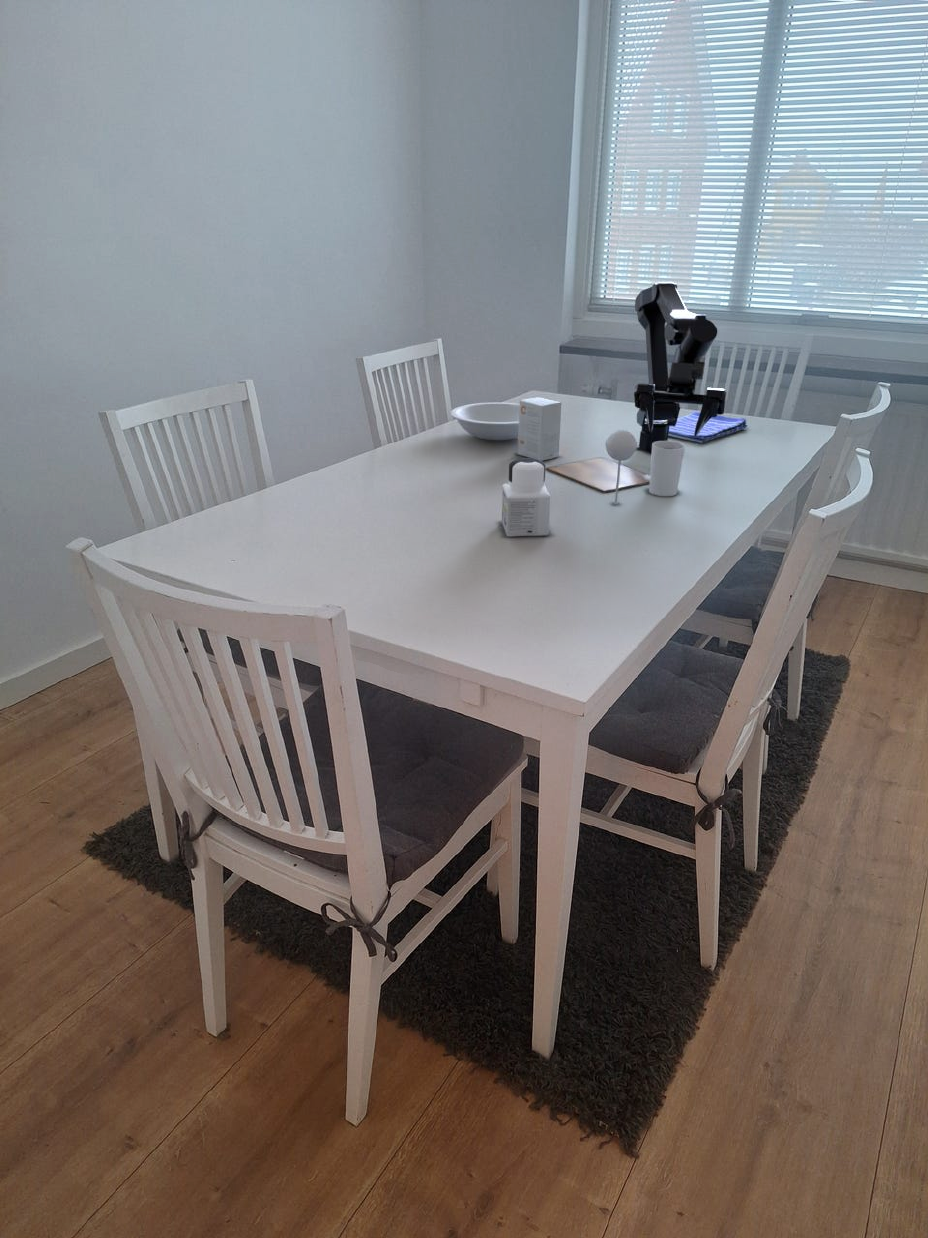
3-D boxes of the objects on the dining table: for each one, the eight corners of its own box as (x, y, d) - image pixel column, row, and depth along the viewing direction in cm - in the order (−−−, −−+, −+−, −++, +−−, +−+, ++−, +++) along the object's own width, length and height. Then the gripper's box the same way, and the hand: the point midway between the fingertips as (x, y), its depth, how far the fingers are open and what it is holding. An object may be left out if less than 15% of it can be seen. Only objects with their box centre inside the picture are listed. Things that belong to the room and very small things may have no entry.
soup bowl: (485, 422, 225) (485, 398, 222) (560, 435, 213) (562, 410, 210) (432, 440, 208) (431, 414, 205) (511, 455, 195) (511, 428, 192)
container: (501, 522, 154) (503, 455, 148) (541, 521, 155) (545, 454, 149) (506, 537, 147) (508, 467, 141) (548, 536, 148) (552, 466, 142)
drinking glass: (682, 489, 173) (688, 443, 168) (675, 498, 167) (681, 450, 163) (650, 485, 175) (656, 439, 171) (643, 494, 170) (648, 446, 165)
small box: (559, 457, 195) (562, 402, 189) (540, 461, 191) (542, 405, 185) (535, 450, 200) (538, 396, 194) (516, 454, 196) (518, 399, 191)
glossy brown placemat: (600, 459, 193) (600, 457, 193) (660, 480, 178) (660, 479, 178) (546, 469, 186) (546, 467, 185) (604, 492, 170) (604, 490, 170)
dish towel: (748, 428, 221) (750, 418, 219) (703, 444, 206) (704, 433, 204) (693, 418, 232) (694, 408, 230) (645, 432, 217) (647, 421, 215)
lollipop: (633, 501, 165) (640, 428, 159) (628, 510, 160) (636, 435, 154) (603, 498, 167) (609, 425, 160) (597, 507, 162) (603, 432, 155)
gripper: (640, 343, 170) (626, 407, 165) (733, 348, 164) (720, 415, 160) (642, 375, 180) (628, 437, 175) (729, 381, 174) (718, 445, 170)
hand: (672, 433), depth 170 cm, fingers open, 9 cm apart
